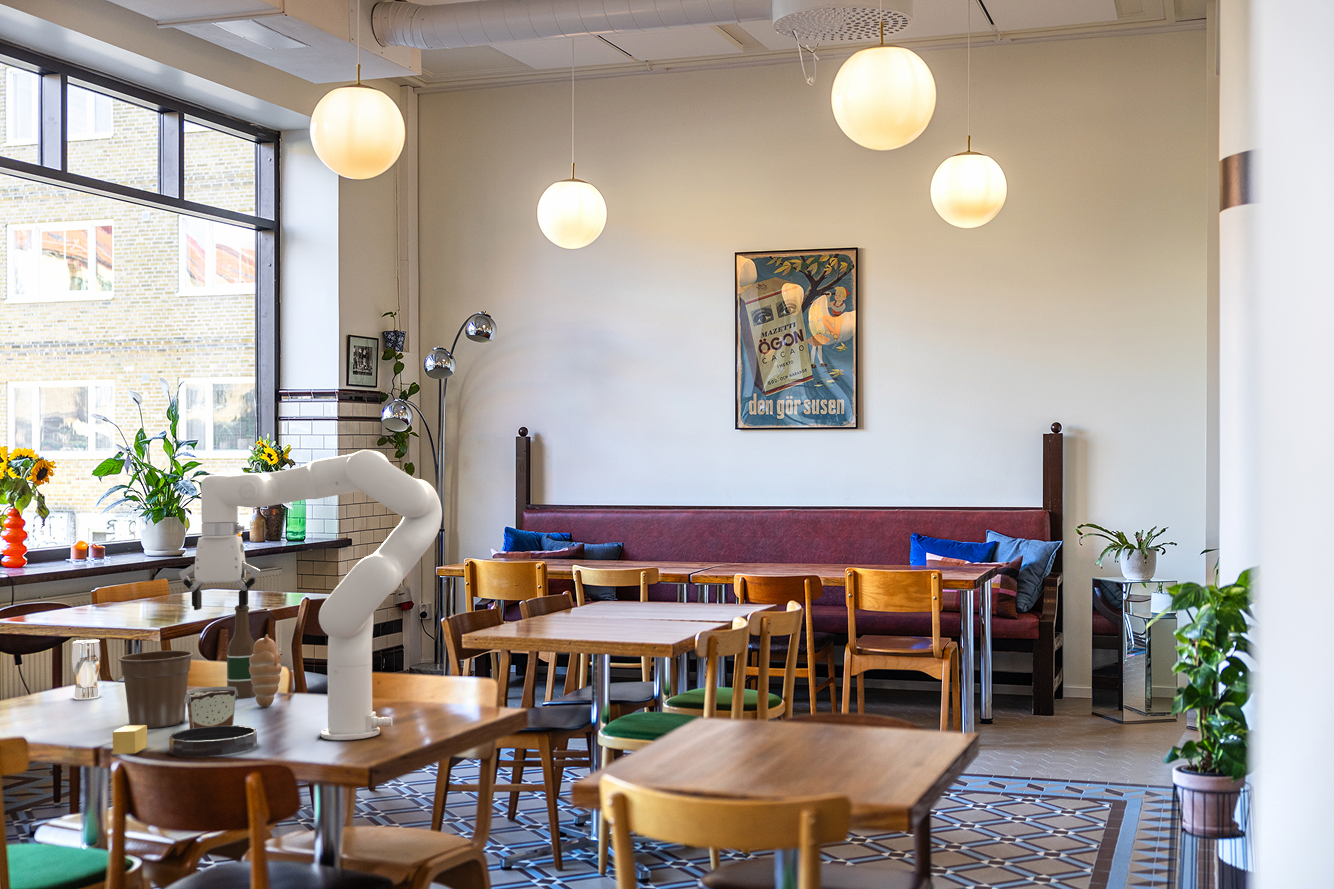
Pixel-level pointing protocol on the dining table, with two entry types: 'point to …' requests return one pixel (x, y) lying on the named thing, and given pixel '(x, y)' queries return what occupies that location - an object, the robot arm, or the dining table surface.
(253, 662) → the tan ribbed tapered piece
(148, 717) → the plant pot
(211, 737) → the round cake pan
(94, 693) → the beer glass
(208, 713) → the food container
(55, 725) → the dining table surface
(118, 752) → the cheese
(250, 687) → the beer bottle
